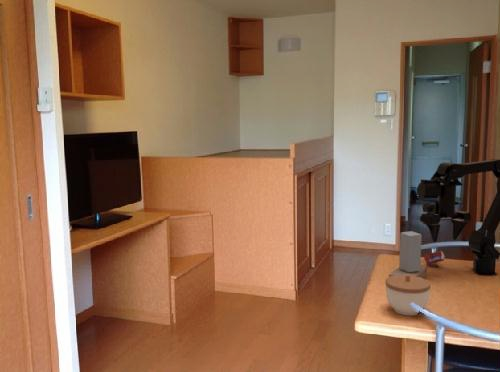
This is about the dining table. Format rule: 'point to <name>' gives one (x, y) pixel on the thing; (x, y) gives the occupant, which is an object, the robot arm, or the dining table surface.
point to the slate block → (410, 251)
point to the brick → (421, 273)
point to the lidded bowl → (407, 293)
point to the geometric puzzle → (434, 257)
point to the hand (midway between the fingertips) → (444, 240)
